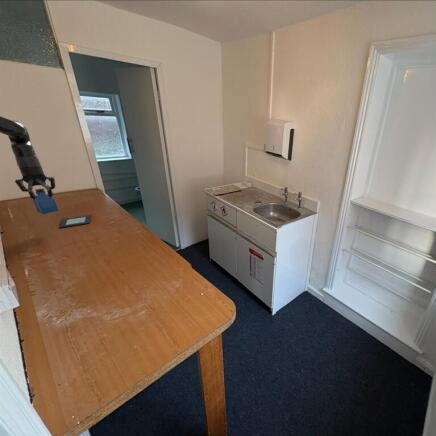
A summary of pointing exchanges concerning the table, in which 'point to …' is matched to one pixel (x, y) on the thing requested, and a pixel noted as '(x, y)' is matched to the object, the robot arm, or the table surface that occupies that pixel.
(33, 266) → the table surface
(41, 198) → the perfume bottle
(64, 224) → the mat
